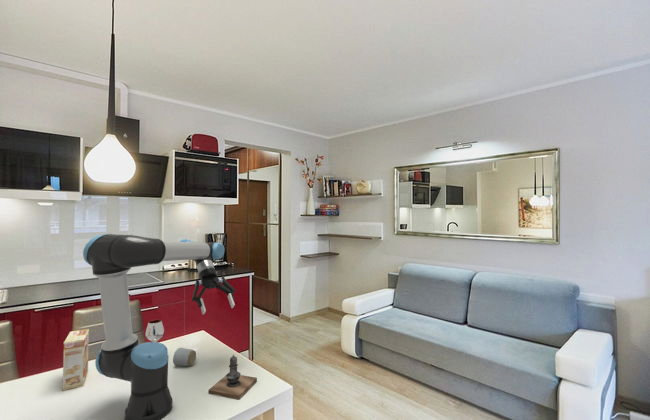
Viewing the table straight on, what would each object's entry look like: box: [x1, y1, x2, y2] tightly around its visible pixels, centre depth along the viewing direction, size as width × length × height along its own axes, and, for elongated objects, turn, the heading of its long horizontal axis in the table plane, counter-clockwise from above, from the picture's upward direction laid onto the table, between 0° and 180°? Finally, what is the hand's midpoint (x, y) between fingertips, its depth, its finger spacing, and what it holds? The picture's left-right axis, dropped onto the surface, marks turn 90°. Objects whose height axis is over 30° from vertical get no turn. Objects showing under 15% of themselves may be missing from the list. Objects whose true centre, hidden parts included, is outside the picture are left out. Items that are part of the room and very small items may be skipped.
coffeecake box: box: [62, 328, 90, 392], centre depth 135 cm, size 15×7×20 cm, turn 31°
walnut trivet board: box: [207, 374, 258, 400], centre depth 130 cm, size 14×14×2 cm
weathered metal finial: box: [225, 354, 242, 387], centre depth 130 cm, size 6×6×12 cm
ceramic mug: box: [172, 347, 197, 367], centre depth 151 cm, size 11×8×8 cm
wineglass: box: [145, 319, 165, 343], centre depth 156 cm, size 8×8×18 cm
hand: (219, 309), depth 143 cm, fingers open, 13 cm apart
